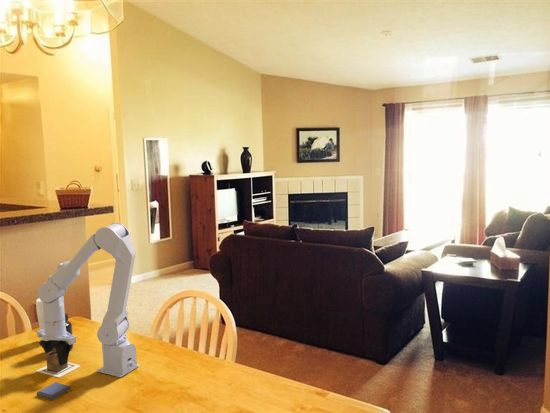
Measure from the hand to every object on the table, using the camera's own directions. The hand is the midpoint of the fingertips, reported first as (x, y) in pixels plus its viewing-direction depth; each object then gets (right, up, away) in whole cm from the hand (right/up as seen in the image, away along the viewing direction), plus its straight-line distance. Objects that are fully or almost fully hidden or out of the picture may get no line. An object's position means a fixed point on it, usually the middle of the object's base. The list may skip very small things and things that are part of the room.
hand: (58, 362), depth 141 cm
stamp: (0, -2, 0) cm, 2 cm away
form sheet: (0, -2, 0) cm, 2 cm away
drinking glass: (-13, 0, +22) cm, 26 cm away
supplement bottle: (-5, -1, +14) cm, 15 cm away
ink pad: (+5, -4, -14) cm, 15 cm away
